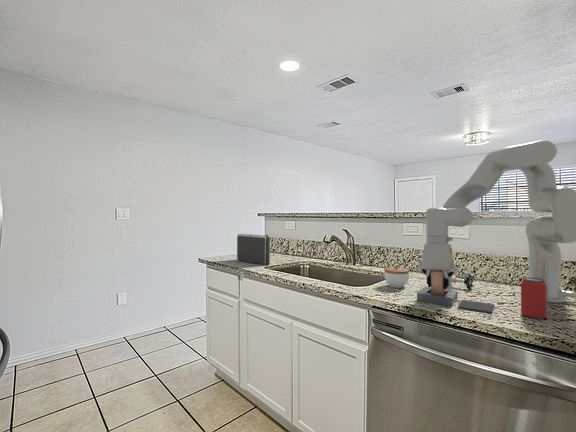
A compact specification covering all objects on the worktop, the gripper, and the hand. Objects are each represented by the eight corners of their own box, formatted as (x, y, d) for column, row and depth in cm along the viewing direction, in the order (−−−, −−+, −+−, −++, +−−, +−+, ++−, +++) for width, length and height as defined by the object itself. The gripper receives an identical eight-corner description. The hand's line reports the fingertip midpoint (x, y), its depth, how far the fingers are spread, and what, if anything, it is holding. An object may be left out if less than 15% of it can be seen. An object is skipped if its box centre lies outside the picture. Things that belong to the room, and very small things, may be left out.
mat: (494, 306, 111) (494, 304, 111) (491, 313, 103) (491, 311, 103) (462, 301, 117) (462, 299, 117) (457, 308, 109) (457, 306, 109)
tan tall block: (445, 296, 119) (445, 268, 119) (443, 299, 115) (443, 270, 115) (432, 294, 122) (432, 267, 122) (429, 297, 118) (429, 269, 118)
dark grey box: (233, 260, 221) (233, 233, 221) (256, 257, 237) (256, 231, 237) (266, 266, 197) (266, 235, 197) (289, 262, 213) (289, 233, 213)
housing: (457, 298, 120) (457, 290, 120) (452, 306, 111) (452, 298, 111) (424, 293, 127) (424, 286, 127) (416, 300, 118) (416, 293, 118)
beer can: (525, 318, 98) (525, 280, 98) (518, 311, 104) (518, 276, 104) (550, 320, 96) (550, 282, 96) (542, 313, 102) (542, 277, 102)
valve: (439, 286, 140) (468, 291, 131) (439, 271, 140) (468, 275, 131) (444, 283, 145) (473, 288, 136) (444, 269, 145) (473, 273, 136)
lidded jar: (391, 282, 149) (391, 262, 149) (413, 286, 141) (413, 265, 141) (379, 286, 141) (379, 265, 141) (402, 290, 134) (402, 268, 133)
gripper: (463, 240, 116) (464, 288, 116) (416, 238, 126) (417, 282, 127) (460, 242, 110) (461, 292, 110) (411, 240, 120) (412, 286, 121)
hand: (437, 286), depth 119 cm, fingers closed on tan tall block, 4 cm apart
